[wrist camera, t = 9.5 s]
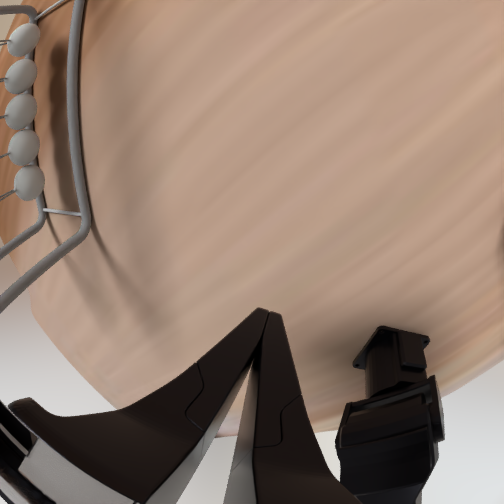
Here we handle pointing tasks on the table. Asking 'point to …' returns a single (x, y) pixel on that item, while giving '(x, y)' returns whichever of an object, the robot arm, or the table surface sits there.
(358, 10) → the table surface
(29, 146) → the newton's cradle
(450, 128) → the table surface
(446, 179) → the table surface
